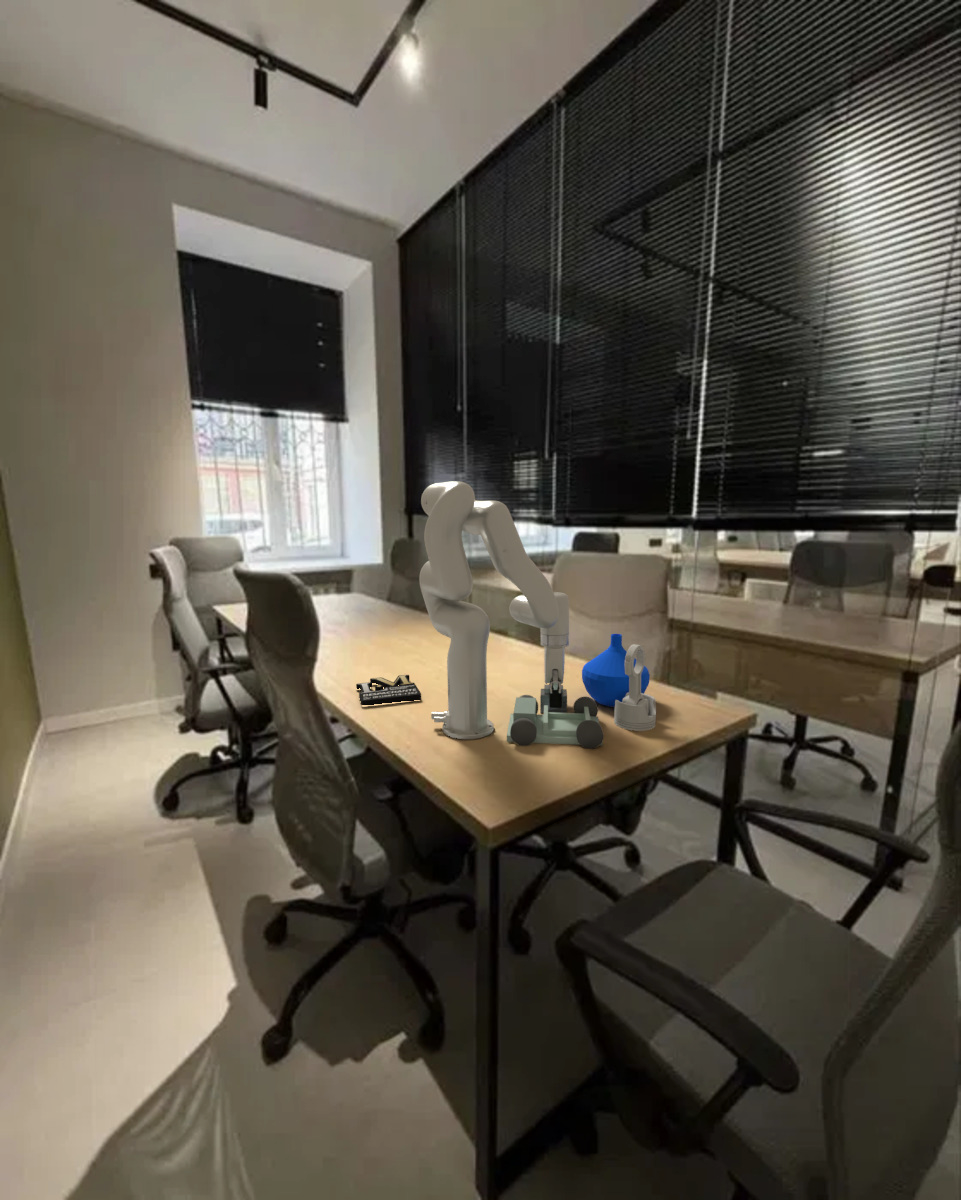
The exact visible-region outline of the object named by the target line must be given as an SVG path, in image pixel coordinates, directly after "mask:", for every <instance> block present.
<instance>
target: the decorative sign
mask: <svg viewBox="0 0 961 1200" xmlns="http://www.w3.org/2000/svg"><path fill="white" fill-rule="evenodd" d="M372 683H376V684H378V685H376V686H374V690H371V689H370V687H372V688H373V686H372ZM398 685H399V686H398ZM355 687H356V688H357V689H359V688H360V689H361V691H360V692H359V693H358V698H360V700H359V702H360V701H361V703H360V706H361V705H374V704H382V703H392V702H401V701H414V700H421V701H422V692H421V691H420V690H419V688H418V687H417V685H416V683H415V682H410V674H402V675H401V674H400V675H398V676H397V677H396V679H395V680H394V681H391V680H389V679H386V678H384V677H380V676H379V677H372V678H370V679H369V681H368V682H362V683H359V682H358V683H356V685H355ZM383 687H384V689H383ZM356 688H355V689H356Z"/></svg>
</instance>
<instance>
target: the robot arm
mask: <svg viewBox="0 0 961 1200" xmlns="http://www.w3.org/2000/svg"><path fill="white" fill-rule="evenodd" d="M420 499H421V500H420V504H421V508H422V509H423V511H424V513H425V514H426V515H427V516H428V518H427V519H426V522H425V527H424V533H423V535H424V536H423V537H424V538H423V539H424V540H423V541H424V545H425V549H426V554H427V558H428V561H426V562H425V563H424V564H423V566H422V567H421V569H420V572H419V588H420V591H421V595H422V598H423V600H424V604H425V608H426V610H427V613H428V616H429V619H430V620H429V621H430V622H431V624H432V626H433V628H434V629H435V630H436V631H437V632H438V634H441V635H442V636H445V637H448V638H449V639H450V643H449V648H448V652H447V657H446V659H447V661H446V662H447V663H446V664H447V665H446V667H447V668H446V670H447V704H448V705H447V706H448V707H447V709H448V710H444V711H441V712H440V711H432V712H431V717H430V718H431V720H433V721H434V723H443V724H442V726H441V727H442V732H443V734H444V735H445V736H447V735H448V737H449V736H450V737H449V738H453V739H456V738H457V740H476V739H481V738H485V737H487V736H489V735H490V734H492V733H493V731H494V729H495V728H494V723H493V722H492V721H491V720H490V719H488V690H487V689H488V686H487V685H488V683H487V682H488V681H487V679H488V677H487V672H488V671H487V670H488V669H487V668H488V667H487V651H488V644H489V643H488V642H489V637H490V631H491V623H490V619H489V616H488V615H487V613H486V612H485V610H484V609H483V608H482V607H481V606H478V605H476V604H475V603H471V602H467V601H463V600H466V598H468V597H469V596H470V595H471V594H472V592H473V589H474V588H473V587H474V581H473V576H472V572H471V568H470V566H469V561H468V558H467V555H466V551H465V548H464V543H463V532H464V533H468V534H471V535H476V536H480V537H481V538H482V541H483V543H484V546H485V548H486V550H487V552H488V555H489V557H490V560H491V562H492V565H493V567H494V568H495V570H496V572H498V573H499V574H500V575H501V576H502V577H504V578H505V579H506V580H509V582H511V583H512V584H513V585H514V586H516V588H518V589H519V591H520V592H521V593H522V594H519V595H517V596H516V597H514V598H513V599H511V602H510V604H509V614H510V616H511V618H513V619H514V620H515V621H516V622H519V623H522V624H524V625H527V626H528V625H529V626H532V627H535V628H538V629H540V646H542V647H544V651H543V652H544V653H543V654H544V656H543V658H544V660H543V661H544V662H543V663H544V684H545V685H550V692H549V706H550V708H561V707H562V693H561V685H563V683H564V679H565V663H566V662H565V656H566V655H565V653H566V652H565V651H566V650H565V649H566V648H567V647H568V646H570V598H569V595H568V594H566V593H564V592H560V591H559V592H557V591H554V590H553V587H552V586H551V584H550V582H549V581H548V579H547V577H546V576H545V574H544V573H543V572H542V571H541V570H540V568H539V567H538V566H537V564H536V563H534V561H533V560H532V559H531V558H530V557H529V556H528V554H527V551H526V550H525V548H524V545H523V542H522V540H521V537H520V535H519V532H518V529H517V527H516V525H515V522H514V520H513V516H512V514H511V512H510V510H509V508H508V506H507V505H506V504H505V503H503V502H501V501H498V500H489V499H488V500H477V499H476V495H475V492H474V489H473V487H471V485H469V483H467V482H463V481H461V480H460V481H459V480H453V481H444V482H435V483H432V484H430V485H428V486H427V487H426V488H425V489H424V491H423V493H421V498H420ZM558 685H559V686H558Z"/></svg>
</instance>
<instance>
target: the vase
mask: <svg viewBox="0 0 961 1200" xmlns="http://www.w3.org/2000/svg"><path fill="white" fill-rule="evenodd" d="M622 640H623V635H622V634H621V633H612V634H610V645H609V646H608V648H607V649H605V650H603V651H602V652H601V653H599V654H598V655H596V656H595V657H594V658H592V659H591V660H589V661H588V662H586V663H584V665H583V667H582V670H581V681H582V682H583V686H584V688H585V690H586V692H587V693H588V695H589V697H590V698H592V699H593V700H594V701H595V702H596V703H598V704H600V705H602V706H605V707H610V708H615V700H618V701H619V702H622V700H623V698H624V697H626V694H627V693H628V692H629V676H628V675H626V674H625V657H626V653H627V651H628V650H625V648H624V646H623V641H622ZM635 664H636V657H635V658H634V667H635ZM649 684H650V672H649V669H648V667H647V666H646V665H644V668H643V671H642V673H641V693H643V694H646V691H647V688H648V686H649Z"/></svg>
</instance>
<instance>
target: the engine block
mask: <svg viewBox="0 0 961 1200" xmlns="http://www.w3.org/2000/svg"><path fill="white" fill-rule="evenodd" d="M558 686H559V685H558ZM543 687H544V688H540V699H539V700H540V701H539V704H540V707H539V708H540V714H544V705H548V712H557V713H568V690H567V688H564V684H561V693H562V707H561V708H550V706H549V692H550V685H549V684H544V686H543Z"/></svg>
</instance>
